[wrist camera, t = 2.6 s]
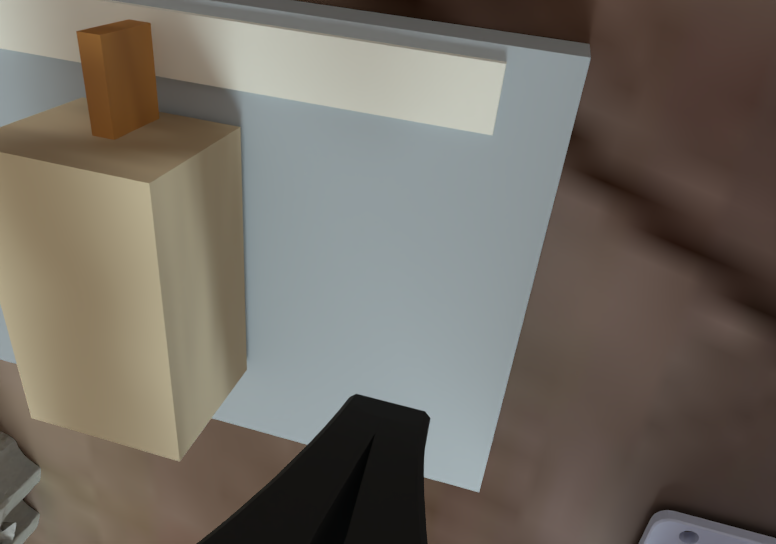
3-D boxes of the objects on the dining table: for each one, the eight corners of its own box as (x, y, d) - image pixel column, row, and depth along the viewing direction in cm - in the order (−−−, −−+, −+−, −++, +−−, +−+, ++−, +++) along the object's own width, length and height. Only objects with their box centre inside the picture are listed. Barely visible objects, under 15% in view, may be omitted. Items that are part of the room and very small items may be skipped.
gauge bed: (589, 44, 13) (599, 151, 7) (485, 453, 19) (444, 695, 13) (-282, -85, 17) (-749, -86, 11) (-133, 289, 23) (-378, 418, 17)
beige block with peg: (237, 32, 13) (136, 66, 10) (246, 369, 17) (179, 461, 14) (68, 5, 13) (-74, 29, 11) (120, 336, 18) (31, 417, 15)
